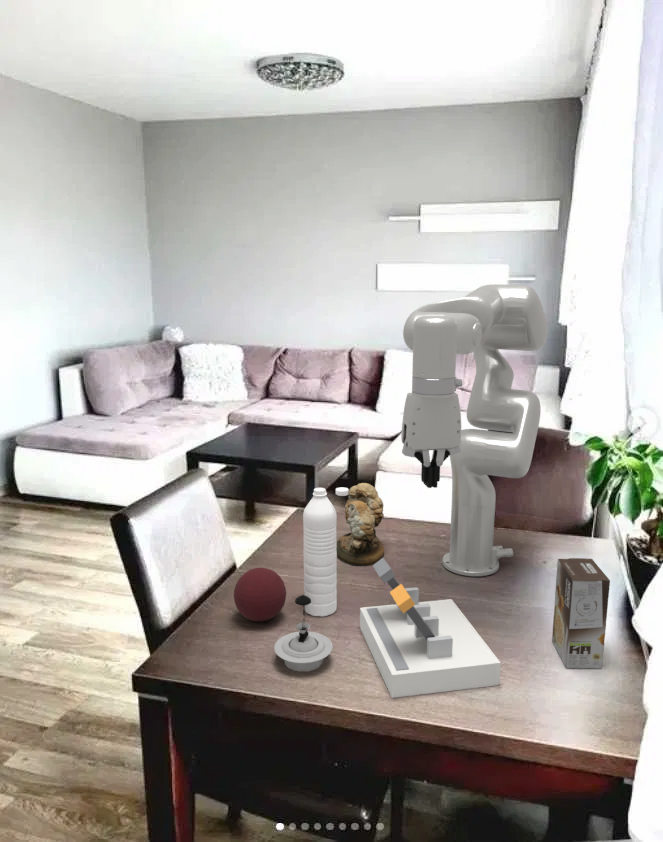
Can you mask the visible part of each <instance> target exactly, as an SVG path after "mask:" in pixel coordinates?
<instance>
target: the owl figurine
mask: <svg viewBox="0 0 663 842" xmlns="http://www.w3.org/2000/svg"><path fill="white" fill-rule="evenodd" d="M344 505H345V506H344V514H345V515H344V518H345V521H346V524H349V528H350V532H348V533H345V534H344V535H342V536H340V537H339V538H338V540H336V541H337V544H336V545H337V548H336V550H337V559H339V560H340V561H341V562H343V563H345V564H349V565H350V564H351V565H350V566H354V565H355V566H354V567H356V566H359V567H369V566H373V565H374V564H375V563H376V562H378V561H379V560H381V559H382V558H384V555H385V547H384V545H383V543H382V542H381V540H379V539H380V538H379V537H378V536H377V534H376V533H377V531H376V528H377V527H379V525H380V524H381V522H382V520H383V519H384V517H385V515H384V513H383V512H384V502H383V499H382V498H381V497H379V493H378V491H377V489H376V487H375V486H373V485H371V483H367V482H361V483H358V484H357V485H353V486H351V487H350V488H349V494H348V499H347V500H346V503H345V504H344Z"/></svg>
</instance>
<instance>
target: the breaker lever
mask: <svg viewBox="0 0 663 842" xmlns="http://www.w3.org/2000/svg"><path fill="white" fill-rule="evenodd" d="M399 584H400V585H399V586H397V587H396V588H395V589H392V590H391V591H390V592H389V594H390V596H392V599H393V601H394V602H395V604H397V605H398V607H399V608H400V610H401V611H402V612H403V613H405V612H407V614H408V615H409V617H410V618H411V619H412V621H413V622H414V623H415V625H416V626H417V627H418V629H419V630H420V632H421V633H422V634H423V636H424V637H425V638H426V640H427V638H431V637H435V635H434V634H433V632H432V631H431V629H430V627H429V626H428V625H427V623H426V622H425V621H424V619H423V618H422V617H421V615H420V614H419V612H418V611H417V610H416V608H415V607H414V605H415V603H414V602H413V600H412V599H411V597H410V595H409V594H408V592H407V591H406V589H405V587H404V585H403V584H402V583H399Z"/></svg>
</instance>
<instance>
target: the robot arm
mask: <svg viewBox="0 0 663 842" xmlns="http://www.w3.org/2000/svg"><path fill="white" fill-rule="evenodd" d="M541 301H542V300H541V299H540V296H539V295H538V293H537V291H536V290H535V289H534V288H533V287H531V286H530V285H527V284H485V285H482V286H479V287H478V288H476V289H475V290H473V291H471V292H469V293H467V295H465V296H460V297H454V298H450V299H447V300H441V301H438V302H432V303H428V304H426V305H423V306H421V307H420V306H419V308H417V309H415V310H414V311H412V312H411V313H410V314H409V316H408V317H407V318H406V320H405V322H404V325H403V331H402V332H403V333H402V334H403V340H404V343H405V346H407V348H408V349H410V350H411V351H412V380H411V383H412V384H411V392H408V393H407V394H406V398H405V402H404V407H403V413H402V414H403V415H402V421H401V433H400V434H401V442H402V444H403V446H402V450H401V454H402V455H403V456H405V457H410V458H415V459H417V461H419V462H420V464H421V470H420V471H421V475H420V478H421V480H420V481H421V482H422V483H423V485H425V487H426V488H427V489H431V488H438V482H440V479H441V476H440V475H441V467H442V466H443V464H444V462H445V461H446V460H447V458H449V459H450V460H449V461H450V467H451V468H450V469H451V477H452V478H451V479H452V480H451V487H452V488H451V507H450V508H451V511H450V512H451V515H450V532H449V533H450V538H449V539H450V540H449V552H447V553H445V554H444V555H443V556H442V562H441V563H442V565H443V567H444V568H445V569H447V570H448V571H449V572H452V573H454V574H456V575H461V576H466V577H486V576H487V577H488V576H489V575H492V574H494V573H496V572H498V570H499V568H500V562H499V560H500V559H501V558H511V557H512V558H513V556H514V551H513V548H511V547H509V548H504V547H503V545H495V546H494V536H495V535H494V534H495V531H494V530H495V516H496V515H495V513H496V497H497V496H496V494H497V493H496V489H495V487H494V485H493V482H492V481H491V479H490V477H489V476H493V477H502V478H508V479H521V478H523V477H525V476H526V475H527V473H528V472H529V470H530V467H531V464H532V460H533V454H534V450H535V444H536V440H537V435H538V430H539V426H540V420H541V419H540V418H541V408H542V407H541V401H540V399H539V397H538V396H537V394H536V393H534V392H532V391H529V390H523V389H513V388H512V386H513V381H514V376H515V374H514V369H513V368H512V366H511V365H510V363H509V361H508V360H507V359H506V358H505V357H504V356H503V355H502V353H501V352H500V351H499V350H503V351H507V350H508V351H524V352H525V351H526V352H535V351H538V350H540V349H542V348H543V347H544V345H545V344H546V342H547V339H548V329H549V328H548V322H547V319H546V315H545V312H544V311H545V310H544V308H543V303H542V302H541ZM471 353H473V358H474V361H475V374H474V380H473V384H472V387H471V391H470V394H469V400H468V403H467V407H466V408H467V409H466V420H467V422H468V423H469V425H471V426H473V427H475V428H468V429H467V428H466V429H465V428H464V429H462V414H461V405H460V400H459V399H460V398H459V394H458V393H457V392H456V391H457V388H461V387H463V379H461V378H457V377H456V369H457V368H456V366H457V364H456V363H457V355H468V354H471ZM477 428H478V429H477ZM430 451H432V454H431V458H430Z"/></svg>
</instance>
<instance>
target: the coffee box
mask: <svg viewBox="0 0 663 842" xmlns="http://www.w3.org/2000/svg"><path fill="white" fill-rule="evenodd" d="M555 577H556V579H555V590H554V591H555V594H554V607H553V611H554V612H553V623H552V638H551V642H552V644H553V645H554V648H555V650H556V652H557V654H558V655H559V657H560V659H561V661H562V662H563V665H564V666H565V668H566V669H599V670H601V669H603V660H604V652H605V651H604V649H605V637H606V629H607V628H606V627H607V615H608V607H609V597H610V596H609V594H610V585H611V584H610V583H611V580H610V578H609V577H608V576H607V575H606V573H604V571H602V569H601V568H600V567H599V565H598V564H597V563H596V562H595V560H594V559H592V558H583V557H582V558H579V557H578V558H576V557H571V558H557V565H556V576H555Z"/></svg>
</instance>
